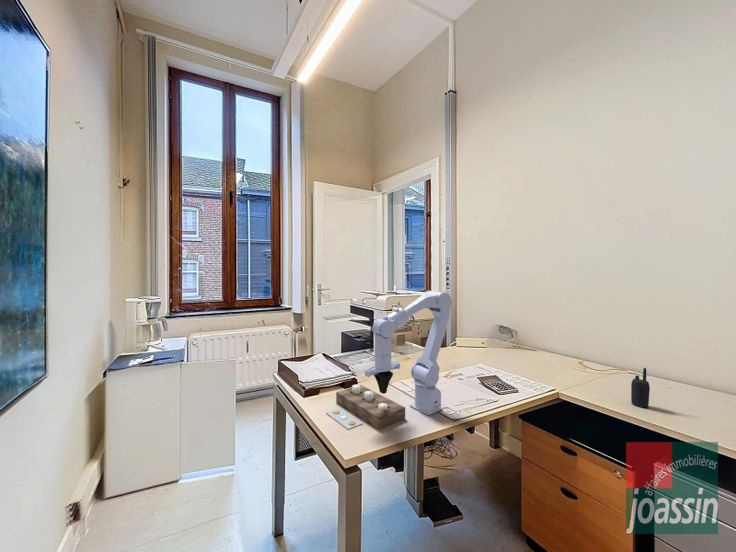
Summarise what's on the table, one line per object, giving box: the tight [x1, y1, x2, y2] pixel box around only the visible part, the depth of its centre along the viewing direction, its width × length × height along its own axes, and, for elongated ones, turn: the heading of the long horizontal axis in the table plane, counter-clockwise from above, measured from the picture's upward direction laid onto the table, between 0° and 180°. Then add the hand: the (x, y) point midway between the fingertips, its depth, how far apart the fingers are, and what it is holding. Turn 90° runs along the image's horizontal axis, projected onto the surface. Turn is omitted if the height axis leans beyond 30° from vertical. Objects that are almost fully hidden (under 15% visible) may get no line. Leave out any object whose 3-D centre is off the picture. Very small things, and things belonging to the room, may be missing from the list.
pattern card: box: [326, 408, 364, 430], centre depth 111 cm, size 14×6×1 cm, turn 38°
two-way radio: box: [630, 367, 651, 409], centre depth 122 cm, size 6×4×15 cm
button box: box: [335, 384, 406, 430], centre depth 118 cm, size 26×12×4 cm, turn 38°
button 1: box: [351, 384, 361, 395], centre depth 124 cm, size 3×3×4 cm
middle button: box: [365, 390, 373, 402], centre depth 118 cm, size 3×3×4 cm
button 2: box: [378, 403, 387, 411], centre depth 112 cm, size 3×3×4 cm
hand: (383, 392), depth 112 cm, fingers closed
